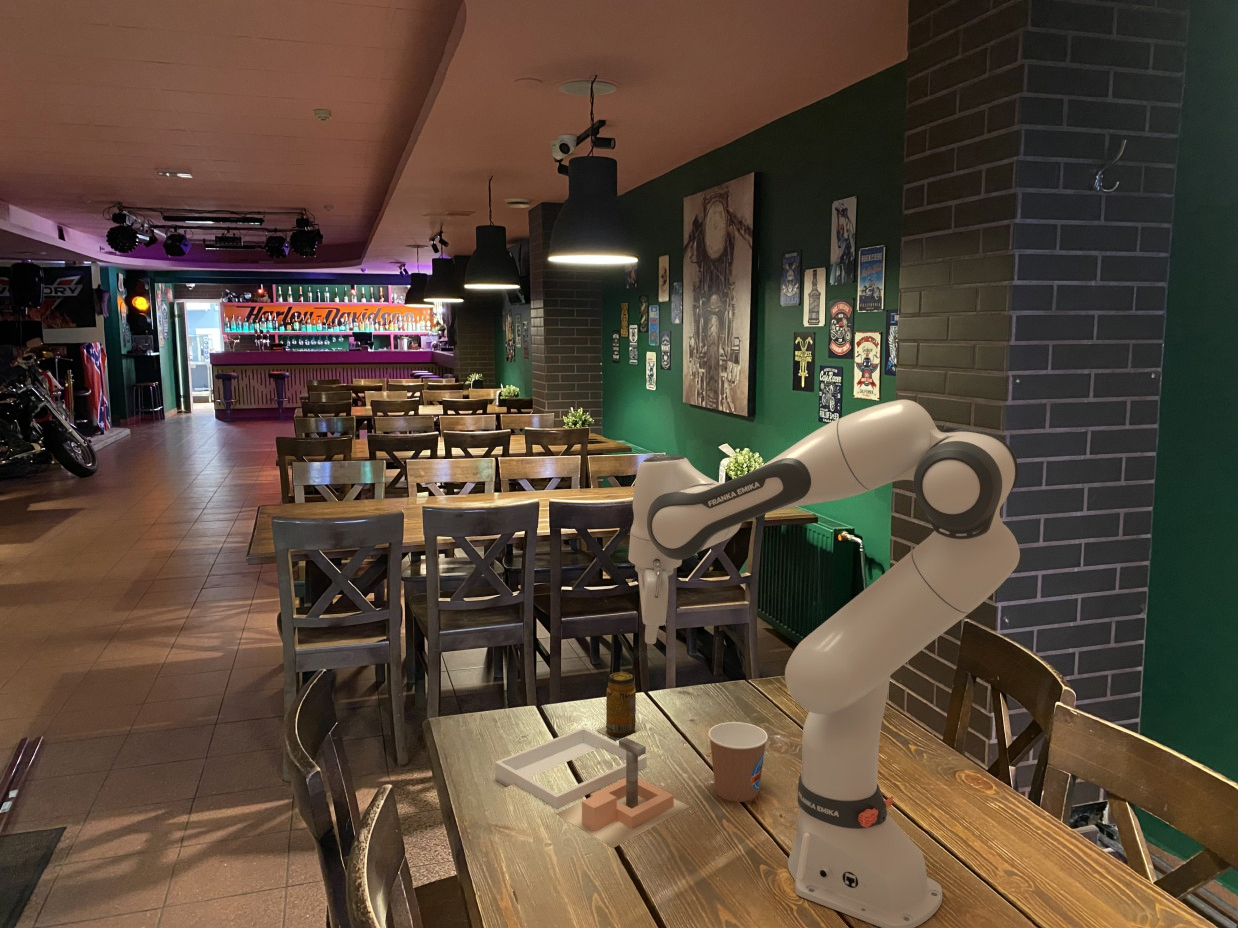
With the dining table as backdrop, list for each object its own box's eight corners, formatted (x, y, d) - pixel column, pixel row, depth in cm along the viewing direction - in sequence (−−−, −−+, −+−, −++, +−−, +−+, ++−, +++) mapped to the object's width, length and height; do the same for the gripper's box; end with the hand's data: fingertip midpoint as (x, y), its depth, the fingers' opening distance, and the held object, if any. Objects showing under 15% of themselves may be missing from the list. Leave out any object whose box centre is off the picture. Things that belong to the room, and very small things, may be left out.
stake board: (690, 814, 150) (691, 743, 149) (613, 856, 138) (613, 779, 136) (632, 785, 160) (632, 718, 159) (555, 821, 148) (555, 749, 146)
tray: (646, 774, 165) (646, 756, 164) (556, 816, 150) (556, 797, 149) (583, 743, 177) (583, 727, 177) (495, 779, 162) (495, 761, 162)
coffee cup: (765, 816, 150) (766, 749, 148) (704, 810, 152) (705, 744, 150) (767, 787, 160) (768, 724, 158) (710, 781, 162) (711, 719, 160)
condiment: (623, 721, 188) (623, 667, 186) (649, 735, 181) (650, 679, 180) (596, 731, 183) (596, 675, 182) (622, 745, 177) (622, 687, 175)
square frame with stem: (673, 806, 150) (673, 784, 150) (609, 839, 140) (609, 816, 140) (632, 785, 157) (632, 763, 157) (568, 815, 147) (567, 793, 147)
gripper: (679, 572, 135) (671, 657, 138) (670, 536, 155) (664, 610, 158) (638, 569, 135) (631, 654, 138) (634, 533, 155) (628, 608, 158)
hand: (648, 630), depth 148 cm, fingers open, 8 cm apart
